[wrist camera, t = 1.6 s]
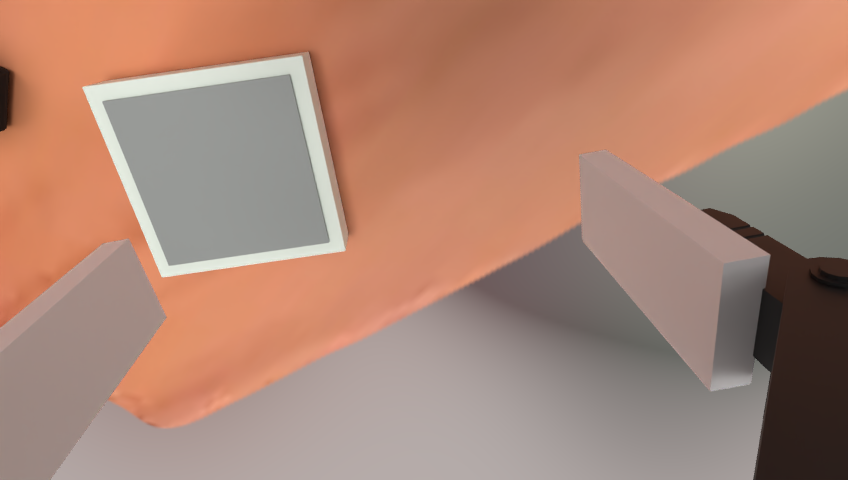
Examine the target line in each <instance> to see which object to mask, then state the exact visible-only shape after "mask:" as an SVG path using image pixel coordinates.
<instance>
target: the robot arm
mask: <svg viewBox="0 0 848 480" xmlns="http://www.w3.org/2000/svg"><path fill="white" fill-rule="evenodd" d="M579 163H580V191H581V219H582V241H583V242H584V243H585V244H586V245H587V247H588V248H589V249H590V250H591V251H592V253H593V254H594V255H595V256H596V257H597V258H598V259H599V261H600V262H601V263H602V264H603V265H604V267H605V268H606V269H607V270H608V271H609V273H610V274H611V275H612V276H613V277H614V279H615V280H616V281H617V282H618V283H619V284H620V285H621V287H622V288H623V289H624V290H625V292H626V293H627V294H628V295H629V296H630V297H631V299H632V300H633V301H634V302H635V303H636V304H637V306H638V307H639V308H640V309H641V310H642V312H643V313H644V314H645V315H646V316H647V317H648V319H649V320H650V321H651V322H652V323H653V325H654V326H655V327H656V328H657V329H658V330H659V332H660V333H661V334H662V335H663V336H664V338H665V339H666V340H667V341H668V342H669V343H670V345H671V346H672V347H673V348H674V349H675V350H676V352H677V353H678V354H679V355H680V356H681V358H682V359H683V360H684V361H685V362H686V364H687V365H688V366H689V367H690V368H691V369H692V371H693V372H694V373H695V374H696V375H697V377H698V378H699V379H700V380H701V381H702V382H703V384H704V385H705V386H706V387H707V388H708V390H709V391H715V390H721V389H726V388H732V387H737V386H743V385H748V384H751V379H752V372H753V366H754V360H755V358H756V359H757V360H758V361H759V362H760V363H761V364H762V365H763V366H764V367H765V368H766V369H767V370H768V371H770V372H771V375H770V381H769V386H768V392H767V398H766V404H765V410H764V416H763V423H762V429H761V436H760V442H759V448H758V454H757V460H756V467H755V473H754V479H753V480H848V260H846V259H841V258H827V257H826V258H825V257H818V258H809V259H807V258H805V257H803V256H801V255H800V254H798V253H796V252H795V251H793V250H791V249H790V248H788V247H786V246H785V245H783V244H781V243H780V242H778V241H776V240H774V239H773V238H771V237H769V236H768V235H767V236H764V233H762V232H761V231H759V230H758V229H756V228H754V227H750V225H749V224H747V223H746V222H744V221H742V220H741V219H739V218H737V217H736V216H734V215H731V214H728V213H725V212H721V211H718V210H714V209H711V208H708V209H703V210H699V209H698V208H696V207H695V206H693V205H692V204H690V203H689V202H687V201H686V200H684V199H682V198H681V197H679V196H678V195H676V194H674V193H673V192H671V191H670V190H668V189H667V188H665V187H664V186H662V185H660V184H659V183H657V182H656V181H654V180H653V179H651V178H649V177H648V176H646V175H645V174H643V173H642V172H640V171H639V170H637V169H635V168H634V167H632V166H631V165H629V164H628V163H626V162H624V161H623V160H621V159H620V158H618V157H617V156H615V155H613V154H612V153H610V152H609V151H607V150H601V151H596V152H590V153H585V154H579ZM165 319H166V315H165V313H164V311H163V309H162V307H161V305H160V302H159V300H158V298H157V296H156V294H155V292H154V290H153V288H152V286H151V284H150V282H149V280H148V277H147V275H146V273H145V271H144V269H143V267H142V265H141V263H140V261H139V259H138V257H137V255H136V253H135V250H134V248H133V246H132V244H131V242H130V240H129V239H124V240H119V241H114V242H108V243H103V244H102V245H100V246H99V247H98V248H97V249H96V250H94V251H93V252H92V253H91V254H90V255H88V256H87V257H86V258H85V259H83V260H82V261H81V262H80V263H79V264H77V265H76V266H75V267H74V268H73V269H71V270H70V271H69V272H68V273H66V274H65V275H64V276H63V277H62V278H60V279H59V280H58V281H57V282H56V283H54V284H53V285H52V286H51V287H49V288H48V289H47V290H46V291H45V292H43V293H42V294H41V295H40V296H39V297H37V298H36V299H35V300H34V301H32V302H31V303H30V304H29V305H28V306H26V307H25V308H24V309H23V310H22V311H20V312H19V313H18V314H17V315H15V316H14V317H13V318H12V319H11V320H9V321H8V322H7V323H6V324H5V325H3V326H2V327H1V328H0V480H51V478H52V477H53V475H54V474H55V472H56V471H57V470H58V468H59V467H60V466H61V464H62V463H63V461H64V460H65V459H66V457H67V456H68V454H69V453H70V451H71V450H72V449H73V447H74V446H75V444H76V443H77V442H78V440H79V439H80V438H81V436H82V435H83V433H84V432H85V431H86V429H87V428H88V426H89V425H90V424H91V422H92V421H93V419H94V418H95V417H96V415H97V414H98V412H99V411H100V410H101V408H102V407H103V406H104V404H105V403H106V401H107V400H108V399H109V397H110V396H111V394H112V393H113V392H114V390H115V389H116V387H117V386H118V385H119V383H120V382H121V380H122V379H123V378H124V376H125V375H126V373H127V372H128V371H129V369H130V368H131V366H132V365H133V364H134V362H135V361H136V359H137V358H138V357H139V355H140V354H141V352H142V351H143V350H144V348H145V347H146V345H147V344H148V343H149V341H150V340H151V338H152V337H153V336H154V334H155V333H156V331H157V330H158V329H159V327H160V326H161V324H162V323H163V322H164V320H165Z"/></svg>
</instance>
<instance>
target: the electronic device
mask: <svg viewBox="0 0 848 480" xmlns="http://www.w3.org/2000/svg"><path fill="white" fill-rule="evenodd" d="M8 83H9V71H8V70H7V69H5V68H2V67H0V131H3V130H5V129H6V127H7V105H8Z"/></svg>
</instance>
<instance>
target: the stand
mask: <svg viewBox="0 0 848 480" xmlns="http://www.w3.org/2000/svg"><path fill="white" fill-rule="evenodd" d="M82 88H83V90H84V92H85V95H86V97H87V100H88V102H89V104H90V107H91V109H92V112H93V114H94V116H95V119H96V121H97V123H98V126H99V128H100V131H101V133H102V135H103V138H104V140H105V143H106V145H107V147H108V150H109V152H110V155H111V157H112V159H113V162H114V164H115V166H116V169H117V171H118V174H119V176H120V178H121V181H122V183H123V186H124V188H125V190H126V193H127V195H128V198H129V200H130V202H131V205H132V207H133V209H134V212H135V214H136V217H137V219H138V221H139V224H140V226H141V229H142V231H143V233H144V236H145V238H146V241H147V243H148V245H149V248H150V250H151V252H152V255H153V257H154V260H155V262H156V264H157V267H158V269H159V272H160V274H161V276H162V277H169V276H176V275H183V274H189V273H196V272H203V271H210V270H217V269H224V268H231V267H238V266H245V265H252V264H258V263H265V262H272V261H279V260H286V259H293V258H300V257H307V256H314V255H321V254H327V253H334V252H341V251H346V246H347V240H348V230H347V225H346V220H345V216H344V211H343V207H342V202H341V197H340V193H339V188H338V183H337V179H336V174H335V170H334V165H333V160H332V156H331V151H330V147H329V142H328V137H327V133H326V128H325V124H324V119H323V114H322V110H321V105H320V101H319V96H318V91H317V87H316V82H315V78H314V73H313V68H312V64H311V59H310V54H309V52H302V53H295V54H288V55H281V56H274V57H267V58H260V59H253V60H246V61H239V62H232V63H225V64H219V65H212V66H205V67H198V68H191V69H184V70H177V71H170V72H163V73H156V74H149V75H142V76H135V77H128V78H121V79H114V80H107V81H103V82H99V83H96V84H92V85H88V86H84V87H82Z"/></svg>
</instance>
